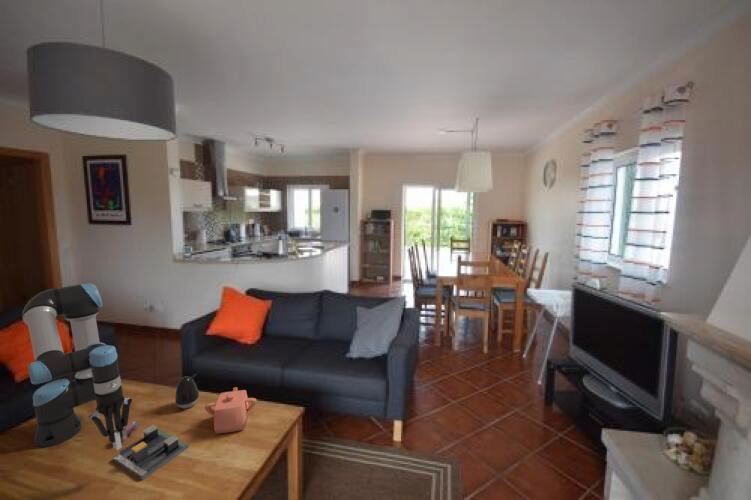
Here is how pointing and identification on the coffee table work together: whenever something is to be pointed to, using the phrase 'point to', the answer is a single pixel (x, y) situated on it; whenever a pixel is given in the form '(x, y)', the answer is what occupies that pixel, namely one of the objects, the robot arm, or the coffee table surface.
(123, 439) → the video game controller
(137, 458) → the breaker
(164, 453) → the panel
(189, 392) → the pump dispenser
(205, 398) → the coffee table surface
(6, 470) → the coffee table surface
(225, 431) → the teapot
